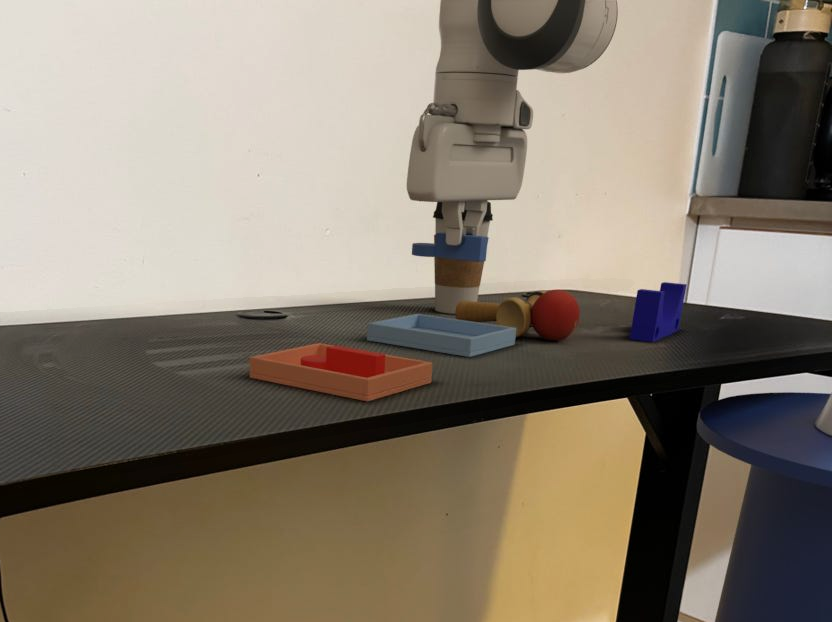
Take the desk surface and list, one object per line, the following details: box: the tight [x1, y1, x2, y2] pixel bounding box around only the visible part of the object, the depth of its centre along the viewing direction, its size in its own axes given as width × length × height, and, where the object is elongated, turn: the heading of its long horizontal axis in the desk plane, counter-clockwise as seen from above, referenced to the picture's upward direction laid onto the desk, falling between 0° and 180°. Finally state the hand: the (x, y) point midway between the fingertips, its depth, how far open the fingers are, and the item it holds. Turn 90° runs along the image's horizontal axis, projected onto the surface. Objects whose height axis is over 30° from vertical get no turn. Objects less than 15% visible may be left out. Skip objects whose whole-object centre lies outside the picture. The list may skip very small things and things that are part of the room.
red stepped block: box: [301, 345, 386, 378], centre depth 95 cm, size 9×4×3 cm, turn 54°
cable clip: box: [629, 281, 687, 343], centre depth 127 cm, size 12×4×6 cm, turn 148°
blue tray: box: [366, 313, 517, 358], centre depth 116 cm, size 14×11×2 cm
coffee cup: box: [432, 200, 494, 315], centre depth 137 cm, size 8×8×15 cm
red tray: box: [249, 342, 434, 402], centre depth 95 cm, size 14×11×2 cm
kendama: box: [454, 289, 581, 342], centre depth 123 cm, size 8×6×18 cm
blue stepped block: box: [411, 232, 489, 262], centre depth 112 cm, size 9×4×3 cm, turn 54°
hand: (461, 244), depth 111 cm, fingers closed on blue stepped block
